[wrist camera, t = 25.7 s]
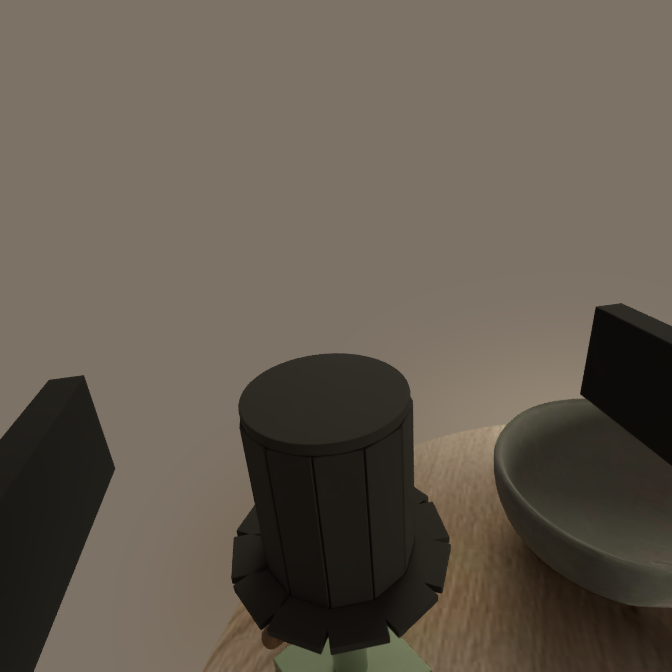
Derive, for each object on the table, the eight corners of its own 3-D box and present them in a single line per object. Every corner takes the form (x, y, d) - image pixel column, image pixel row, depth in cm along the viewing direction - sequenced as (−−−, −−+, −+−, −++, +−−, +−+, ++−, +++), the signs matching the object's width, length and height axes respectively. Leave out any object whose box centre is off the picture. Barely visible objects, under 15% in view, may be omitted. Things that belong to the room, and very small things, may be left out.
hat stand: (321, 804, 27) (268, 502, 17) (254, 689, 33) (186, 415, 23) (448, 664, 33) (461, 387, 24) (373, 589, 39) (358, 342, 29)
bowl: (602, 452, 52) (618, 375, 48) (823, 612, 35) (878, 512, 30) (447, 501, 47) (450, 421, 43) (612, 719, 29) (643, 617, 25)
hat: (318, 716, 19) (288, 534, 15) (198, 538, 29) (158, 393, 24) (493, 548, 26) (507, 389, 22) (351, 448, 36) (341, 322, 31)
